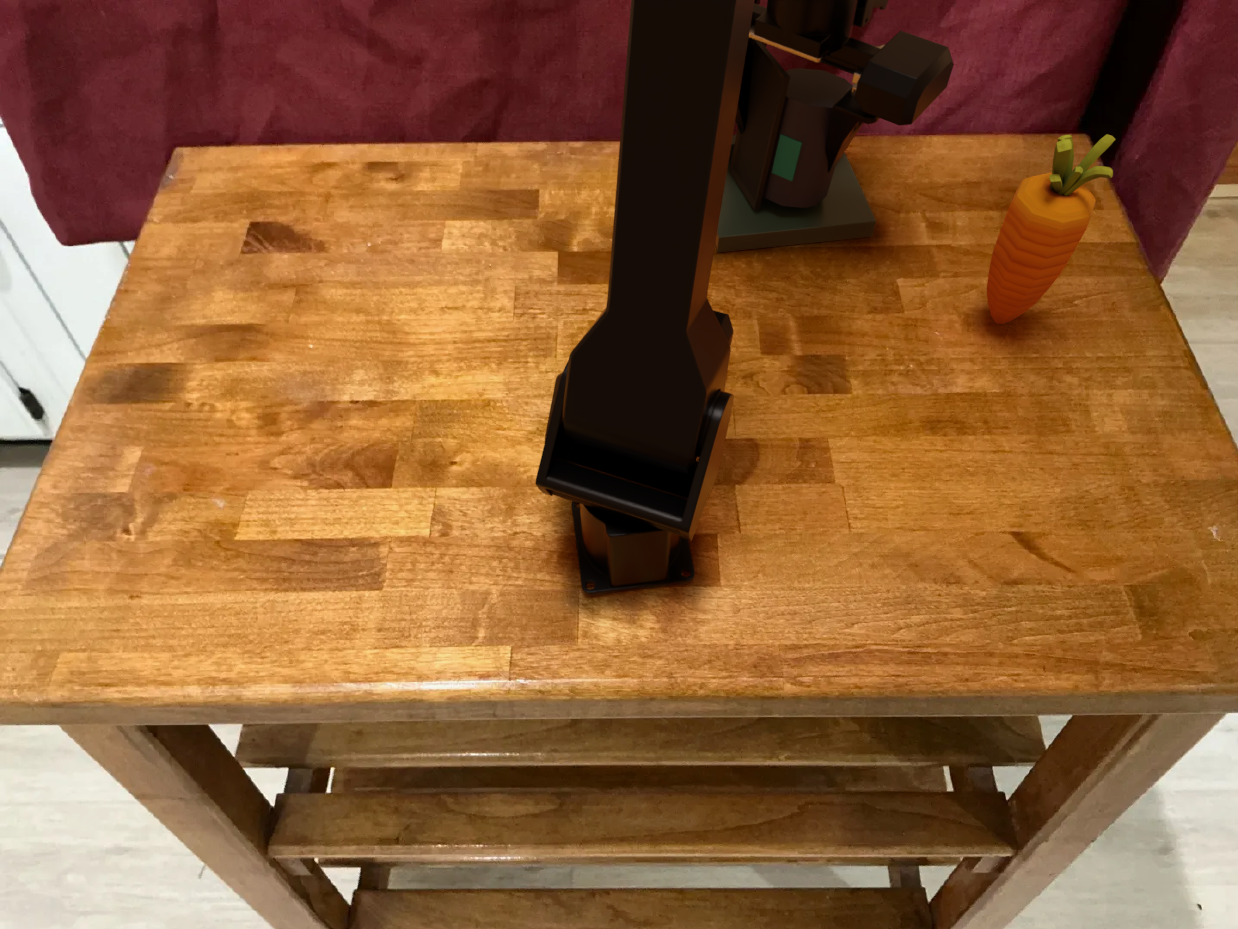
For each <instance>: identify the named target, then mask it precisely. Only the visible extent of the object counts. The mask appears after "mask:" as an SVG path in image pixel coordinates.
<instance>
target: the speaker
mask: <svg viewBox="0 0 1238 929" xmlns="http://www.w3.org/2000/svg"><path fill="white" fill-rule="evenodd" d="M852 85H853V83H852V82H849V80H847V79H846V78H843V77H841V76H839V75H837V74H833V73H831V72H828V71H826V70H823V69H811V68H802V67H797V68H792V69H787V70H785V69H784V67H783V66H782V65H781V63H780V62H778V60H777V59H776V58H775V57H774V56H773V54H772V53H771V52H770V50H769V49H768V48H767V46H766V47H765V46H764V45H763V43H762V42H760V41H758V40H757V41H755V42H754V47H753V61H752V75H751V85H750V94H749V103H748V112H747V121H746V127H745V131H744V132H743V133H742V134H740V131H739V129H738V128H737V130H736V134H735V135H736V139H735V144H734V150H733V155H732V160H731V165H730V170H729V172H730V174H731V175H732V177H733V178H734V180H735V181H736V183H737V184H738V186H739V187H740V189H741V190H742V192H743V193H744V195H745V196H746V198H747V200H748V201H749V203H750V204H751V206H752V207H753V209H754V210H759V209H760V205H761V201H762V197H764V198H766V199H768V200H771V201H773V202H775V203H777V204H779V205H781V206H789V207H800V208H807V207H812V206H816V205H817V204H818V203H819V202H820V201H822V200H823V199H824V198H825V197H826V196H827V193H828V190H829V187H830V183H831V180H832V177H833V173H834V170H835V167H836V166H835V167H834V168H833V169H832V170H831V171H830V172H829V173H828V159H827V156H826V152H825V149H826V143H827V138H828V132H829V127H830V121H831V115H832V109H833V105H834V104H835V103H836V102H837V101H838V100H839V99H840V98H841V97H842V96H843V95H844V94H845V93H846V92H848V91H849V90H850V89H851V88H852Z"/></svg>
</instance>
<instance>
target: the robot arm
mask: <svg viewBox="0 0 1238 929" xmlns="http://www.w3.org/2000/svg"><path fill="white" fill-rule="evenodd" d="M766 1H767V3H766V6H763V5H761V0H630V11H629V21H628V22H629V23H628V24H629V25H628V34H627V35H628V36H627V47H626V48H627V49H626V60H625V61H626V62H625V73H624V86H623V87H624V88H623V96H622V97H623V99H622V109H621V110H622V112H621V122H620V123H621V124H620V135H619V137H620V138H619V147H618V148H619V149H618V162H617V174H616V185H615V187H616V188H615V198H614V212H613V223H612V226H613V227H612V237H611V250H610V261H609V275H608V286H607V287H608V288H607V297H606V298H607V299H606V305H605V308H604V309H603V311H602V312H601V313H600V314H599V316H598V317H597V318H596V319H595V321H594V322H593V324H592V325H591V326H590V327H589V329H587V331H586V332H585V333H584V335H583V336H582V338H581V339H580V340H579V341H578V343H577V344H576V345H575V347H574V348H573V349H572V350H571V352H570V353H569V356H568V360H567V362H566V364H565V366H564V368H563V370H562V372H561V373H559V374H558V375H557V376H556V379H555V382H554V386H553V391H552V398H551V402H550V406H549V407H550V408H549V413H548V419H547V423H546V428H545V435H544V445H543V448H542V453H541V457H540V460H539V461H540V462H539V465H538V468H537V474H536V477H535V486H536V488H538V489H539V492H541V493H542V494H544V495H547V496H550V497H552V496H555V497H559V498H561V499H565V500H568V501H571V505H570V506H571V514H572V521H573V522H572V523H573V531H574V540H575V545H576V554H577V555H576V556H577V562H578V569H579V577H580V578H579V579H580V586H581V592H582V593H583V594H584V595H585V596H587V597H596V596H604V595H610V594H611V595H613V594H620V593H621V594H622V593H628V592H636V591H643V590H650V589H657V588H667V587H673V586H682V585H689V584H691V583H693V582H694V580H695V576H696V575H695V574H696V571H695V567H694V562H693V557H692V553H691V548H690V547H691V546H690V543H689V541H690V542H692V540H693V539H694V536H695V533H696V530H697V528H698V525H699V523H700V521H701V518H702V515H703V513H704V510H705V508H706V505H707V502H708V500H709V498H710V495H711V492H712V491H713V487H714V485H715V482H716V480H717V477H718V475H719V471H720V466H721V463H722V462H721V461H722V457H723V453H724V448H725V443H726V439H727V434H728V429H729V426H730V421H731V417H732V412H733V411H732V410H733V406H734V398H735V396H734V393H730V392H727V391H726V383H727V377H728V371H729V365H730V358H731V350H732V349H731V348H732V347H731V345H732V342H733V341H732V340H733V336H734V328H733V324H732V321H731V320H732V319H731V317H730V315H729V314H728V313H725V312H722V311H718V310H714V309H713V307H712V305H711V303H710V301H709V298H708V292H709V285H710V280H711V279H710V278H711V272H712V267H713V260H714V255H715V250H716V246H715V242H716V236H717V230H718V224H719V218H720V211H721V205H722V199H723V193H724V187H725V180H726V174H727V168H728V162H729V156H730V150H731V143H732V137H733V135H734V130H735V125H736V127H737V129H739V131H740V134H742V133H743V132H744V131H745V127H746V121H747V112H748V103H749V94H750V85H751V75H752V61H753V47H754V42H755V41H757V40H758V41H760V42H762V43H763V45H764V46H765V47H766V48H767V46H768V45H769V46H771V47H774V48H776V49H779V50H781V51H784V52H787V53H789V54H792V55H795V56H798V57H801V58H803V59H806V60H808V61H811V62H814V63H817V64H819V63H821V64H824V65H827V66H830V67H832V68H835V69H837V70H840V71H843V72H845V73H848V74H851V75H853V76H852V80H851V84H852V88H851V89H850V90H849V91H848V92H846V93H845V94H844V95H843V96H842V97H841V98H840V99H839V100H838V101H837V102H836V103H835V104H834V105H833V109H832V115H831V121H830V127H829V132H828V138H827V143H826V149H825V152H826V156H827V159H828V173H829V172H830V171H831V170H832V169H833V168H834V167H835V166H836V165H837V163H838V161H839V160H840V158H841V157H842V155H843V154H844V152H845V153H846V151H847V149H848V147H849V146H850V144H851V143H852V141H853V140H854V138H855V137H856V135H857V134H858V133H859V131H860V129H861V127H862V126H863V124H867V125H872V124H875V123H877V122H878V121H879V120H880V119H881V120H884V121H886V122H889V123H891V124H894V125H897V126H909V125H910V126H911V125H912V124H914V122H915V121H916V120H917V119H919V117H920V116H921V115H922V114H923V113H924V112H925V111H926V110H927V109H928V108H929V107H930V106H931V104H933V103H934V101H935V100H937V98H938V97H939V96H940V95H941V94H942V93H943V92H944V91H945V90H946V89H947V87H948V84H949V81H950V78H951V75H952V71H953V68H954V66H955V64H954V60H953V58H952V55H951V51H950V47H949V46H946V45H943V44H941V43H938V42H935V41H932V40H929V39H926V38H924V37H921V36H919V35H915V34H912V33H909V32H906V31H903V30H899V31H898V32H897V33H896V34H895V35H894V36H892V37H891V38H890V40H889V41H888V42H886V43H885V44H881V45H874V44H871V43H868V42H865V41H862V40H860V39H858V38H854V37H852V34H853V28H855V27H858V28H861V29H862V28H863V27H864V26H866V25H867V24H868V23H869V22H870V21H871V19H872V15H873V14H872V13H873V10H874V9H879V10H881V11H883V10H886V9H887V6H888V4H889V0H766ZM697 459H698V460H697ZM578 506H579V507H578ZM684 573H687V574H688V576H685V575H683V574H684ZM590 585H592V586H593V588H588V586H590Z"/></svg>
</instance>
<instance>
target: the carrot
mask: <svg viewBox="0 0 1238 929" xmlns="http://www.w3.org/2000/svg"><path fill="white" fill-rule="evenodd" d="M1115 141H1116V138H1115V137H1114V136H1113V135H1110V134H1105V135H1104V136H1103V137H1101V138H1100V139H1099V140H1098V141H1097V142H1096V143H1095V144H1094V145H1093V146H1092V147H1091V148H1090V150H1088V152H1087V153H1086V155H1085V156H1084V158H1082V160H1081V161H1080V162H1079V164H1078V165H1077V166H1075V167H1074V162H1075V150H1074V148H1075V146H1074V141H1073V136H1072V135H1071V134H1064V135H1061V136H1060V137H1058V138H1057V141H1056V143H1055V147H1054V150H1053V158H1052V169H1051V172H1046V173H1042V174H1037V175H1033V176H1029V177H1026V178H1023V179H1022V180H1021V182H1020V183H1019V185H1018V187H1017V188H1016V191H1015V193H1014V196H1013V197H1012V200H1011V202H1010V204H1009V207H1008V209H1007V212H1006V215H1005V217H1004V219H1003V221H1002V225H1001V227H1000V230H999V234H998V236H997V238H996V242H995V245H994V248H993V250H992V253H991V257H990V263H989V268H988V275H987V282H986V298H987V305H988V310H989V313H990V317H991V319H992V320H993V321H994V323H995V324H997V325H1003V324H1007V323H1009V322H1011V321H1014V319H1017V318H1018V317H1020V316H1022V315H1024V314H1025V313H1026V312H1028V310H1030V309H1031V308H1032V307H1033V306H1034V305H1037V303H1038V302H1039V300H1041V299H1042V297H1043V296H1044V295H1045V294H1046V293H1047V291H1048V290H1049V289H1050V288H1051V287H1052V286H1053V284H1054V283H1055V282H1056V281H1057V279H1058V278H1059V277H1060V275H1061V274H1062V272H1063V270H1064V269H1065V267H1066V266H1067V264H1068V262H1069V260H1070V259H1071V257H1073V256H1072V255H1073V254H1074V252H1075V250H1076V249H1077V247H1078V245H1079V243H1080V242H1081V240H1082V238H1083V236H1084V235H1085V232H1086V231H1087V229H1088V226H1089V223H1090V221H1091V218H1092V215H1093V212H1094V209H1095V208H1096V202H1097V198H1095V196H1094V195H1093V193H1091V191H1090V190H1089V189H1088V188H1087V186H1085V184H1086V183H1088V182H1091V181H1093V180H1096V179H1100V178H1104V179H1112V178H1113V177H1114V169H1113V168H1111V167H1110V166H1105V165H1095V166H1093V167H1092V165H1093V164H1094V163H1095V162H1096V161H1097V160H1098V159H1099V158H1100V157H1101V155H1103V153H1105V152H1106V151H1107V150H1108V149H1109V148H1110V147H1111V146H1112V145H1113V143H1114V142H1115ZM1090 167H1091V168H1090Z"/></svg>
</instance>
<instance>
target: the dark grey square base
mask: <svg viewBox="0 0 1238 929" xmlns="http://www.w3.org/2000/svg"><path fill="white" fill-rule="evenodd" d="M735 139H736V134H733V137H732V143H731V150H730V156H729V162H728V168H727V174H726V180H725V187H724V193H723V199H722V205H721V211H720V218H719V224H718V230H717V236H716V242H715V250H716V252H717V253H727V252H736V251H746V250H754V249H767V248H775V247H785V246H795V245H803V244H805V245H806V244H812V243H813V244H815V243H823V242H834V241H844V240H851V239H852V240H854V239H862V238H871V237H873V236H874V232H875V228H876V224H877V219H876V217H875V214H874V213H873V211H872V208H871V206H870V204H869V201H868V200H867V198H866V195H865V193H864V190H863V189H862V187H861V184H860V182H859V180H858V178H857V176H856V173H855V172H854V169H853V167H852V165H851V163H850V161H849V159H848V156H847V154H846V151H845V152H844V154H843V155H842V157H841V158H840V160H839V161H838V163H837V165H836V167H835V170H834V173H833V177H832V180H831V183H830V187H829V190H828V193H827V196H826V197H825V198H824V199H823V200H822V201H820V202H819V203H818V204H817V205H816V206H812V207H807V208H800V207H789V206H781V205H779V204H777V203H775V202H773V201H771V200H768V199H766V198H764V197H762V201H761V205H760V209H759V210H754V209H753V207H752V206H751V204H750V203H749V201H748V200H747V198H746V196H745V195H744V193H743V192H742V190H741V189H740V187H739V186H738V184H737V183H736V181H735V180H734V178H733V177H732V175H731V174H730V172H729V170H730V165H731V160H732V155H733V150H734V144H735Z"/></svg>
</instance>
